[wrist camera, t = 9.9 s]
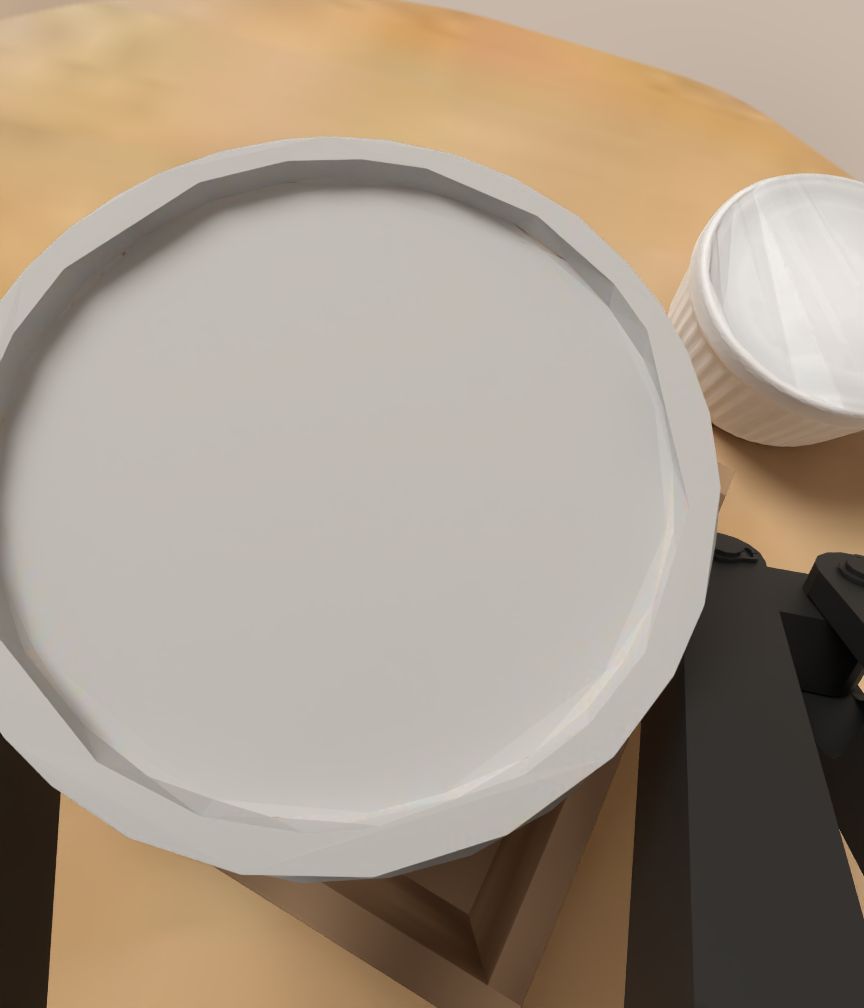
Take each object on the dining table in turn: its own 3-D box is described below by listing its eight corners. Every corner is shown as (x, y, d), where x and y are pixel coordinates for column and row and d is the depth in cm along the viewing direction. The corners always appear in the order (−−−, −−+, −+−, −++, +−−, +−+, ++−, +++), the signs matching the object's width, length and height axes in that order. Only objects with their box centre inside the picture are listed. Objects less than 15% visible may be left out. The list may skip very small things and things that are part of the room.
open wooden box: (42, 680, 19) (-64, 691, 14) (311, 315, 24) (291, 240, 19) (477, 949, 17) (504, 1049, 13) (668, 505, 22) (735, 471, 18)
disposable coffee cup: (452, 784, 16) (611, 1158, 4) (174, 651, 16) (-368, 659, 5) (558, 511, 18) (836, 278, 7) (317, 402, 19) (195, 13, 7)
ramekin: (592, 341, 24) (643, 260, 19) (739, 224, 27) (820, 126, 22) (771, 518, 23) (880, 481, 17) (912, 376, 25) (1043, 307, 20)
